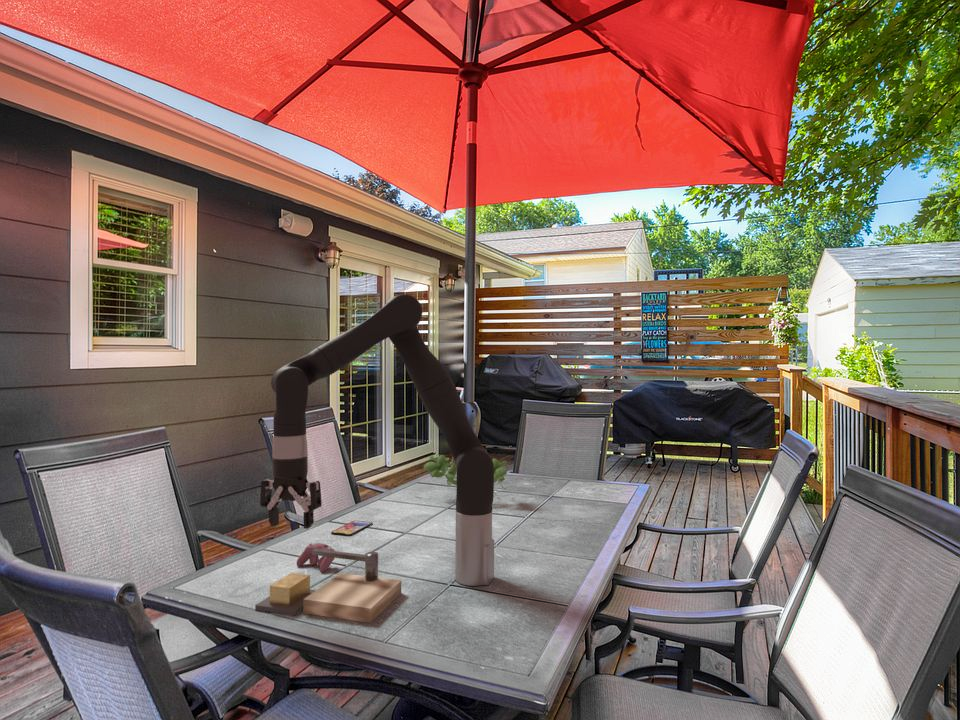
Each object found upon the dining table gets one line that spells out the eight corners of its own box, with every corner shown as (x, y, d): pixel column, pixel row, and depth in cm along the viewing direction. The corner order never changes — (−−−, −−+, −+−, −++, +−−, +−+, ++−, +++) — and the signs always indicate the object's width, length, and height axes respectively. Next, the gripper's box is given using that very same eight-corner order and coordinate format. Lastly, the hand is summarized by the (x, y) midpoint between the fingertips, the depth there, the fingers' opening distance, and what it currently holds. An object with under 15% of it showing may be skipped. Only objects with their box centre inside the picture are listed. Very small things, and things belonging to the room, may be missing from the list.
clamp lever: (380, 576, 135) (380, 552, 135) (374, 581, 132) (374, 556, 132) (317, 567, 141) (317, 544, 141) (309, 572, 138) (310, 548, 138)
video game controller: (332, 575, 149) (340, 547, 152) (321, 572, 145) (330, 544, 148) (305, 568, 154) (313, 542, 157) (293, 565, 150) (302, 538, 153)
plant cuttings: (433, 510, 235) (414, 486, 218) (444, 472, 245) (426, 447, 228) (514, 518, 223) (500, 494, 206) (522, 479, 233) (509, 452, 216)
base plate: (401, 593, 134) (401, 580, 134) (370, 622, 118) (370, 608, 118) (340, 585, 138) (340, 573, 138) (303, 613, 123) (303, 599, 123)
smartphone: (373, 522, 191) (350, 534, 177) (373, 525, 191) (350, 537, 177) (354, 520, 193) (329, 532, 179) (354, 523, 193) (329, 535, 179)
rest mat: (322, 595, 132) (322, 591, 132) (295, 615, 122) (295, 610, 122) (285, 590, 135) (285, 586, 135) (255, 609, 124) (255, 605, 124)
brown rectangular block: (309, 592, 131) (310, 575, 131) (289, 606, 124) (289, 588, 124) (291, 589, 133) (291, 572, 133) (269, 603, 125) (269, 585, 125)
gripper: (327, 453, 130) (327, 524, 130) (273, 451, 133) (273, 520, 133) (308, 458, 123) (309, 533, 122) (252, 456, 126) (253, 529, 126)
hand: (291, 526), depth 128 cm, fingers open, 8 cm apart
